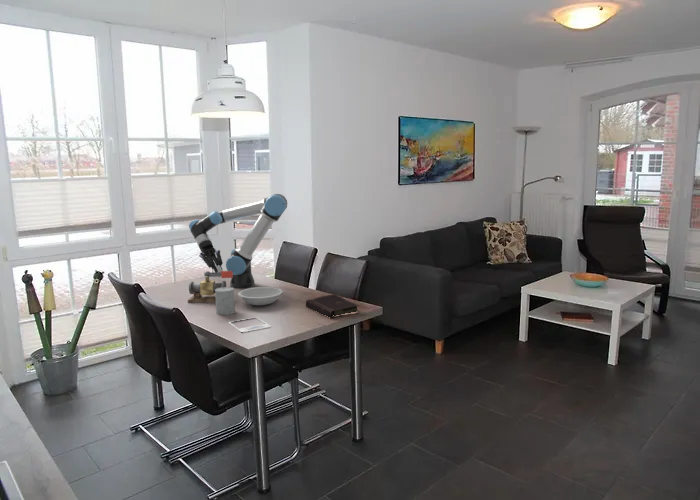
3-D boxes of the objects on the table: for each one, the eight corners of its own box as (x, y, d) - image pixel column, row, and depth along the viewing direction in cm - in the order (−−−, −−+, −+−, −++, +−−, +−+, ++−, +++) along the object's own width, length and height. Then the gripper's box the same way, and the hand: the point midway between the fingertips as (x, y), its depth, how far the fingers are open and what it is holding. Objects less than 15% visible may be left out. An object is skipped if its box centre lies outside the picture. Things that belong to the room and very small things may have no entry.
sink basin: (291, 301, 286) (291, 289, 285) (265, 312, 265) (264, 300, 264) (257, 296, 297) (256, 285, 296) (229, 306, 276) (228, 294, 275)
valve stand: (228, 296, 296) (227, 274, 294) (224, 302, 285) (223, 279, 283) (193, 297, 296) (192, 275, 293) (187, 302, 285) (186, 279, 283)
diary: (329, 320, 253) (329, 310, 252) (305, 308, 274) (305, 299, 273) (361, 313, 263) (360, 304, 262) (335, 302, 284) (335, 293, 283)
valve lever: (232, 277, 288) (232, 271, 287) (204, 278, 287) (203, 272, 286) (233, 276, 291) (232, 270, 290) (205, 277, 290) (204, 271, 289)
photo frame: (241, 331, 233) (228, 321, 248) (241, 334, 234) (228, 323, 249) (271, 326, 241) (256, 316, 256) (271, 328, 241) (256, 318, 256)
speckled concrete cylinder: (238, 310, 269) (237, 287, 267) (228, 315, 260) (227, 292, 258) (222, 308, 272) (221, 286, 270) (212, 314, 263) (211, 290, 261)
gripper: (212, 246, 307) (229, 277, 298) (191, 248, 297) (208, 281, 288) (217, 238, 302) (234, 270, 294) (195, 240, 292) (213, 273, 284)
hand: (221, 275), depth 291 cm, fingers closed
